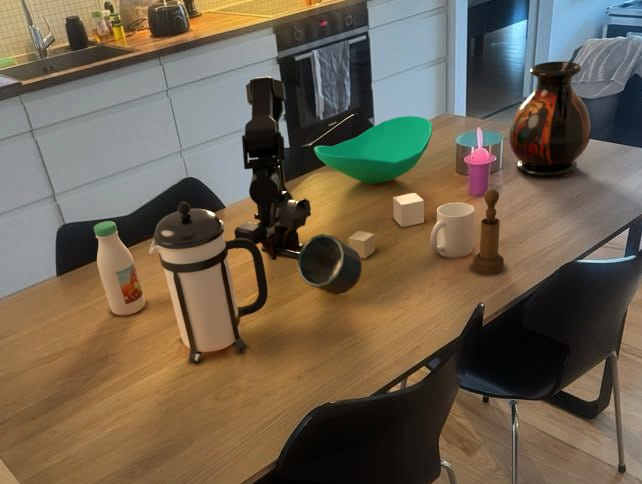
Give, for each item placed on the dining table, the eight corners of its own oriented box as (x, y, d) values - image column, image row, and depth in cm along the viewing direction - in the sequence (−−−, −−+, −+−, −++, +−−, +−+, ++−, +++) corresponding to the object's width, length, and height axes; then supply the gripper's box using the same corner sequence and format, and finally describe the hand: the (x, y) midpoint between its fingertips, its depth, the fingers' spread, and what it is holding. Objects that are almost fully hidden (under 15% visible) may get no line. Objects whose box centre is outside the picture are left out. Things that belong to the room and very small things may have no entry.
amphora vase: (496, 163, 204) (502, 63, 188) (566, 153, 205) (578, 53, 189) (522, 188, 186) (531, 80, 170) (599, 177, 187) (614, 69, 171)
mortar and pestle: (506, 263, 152) (511, 185, 142) (499, 276, 148) (504, 197, 137) (476, 259, 155) (479, 183, 145) (469, 273, 150) (472, 195, 140)
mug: (443, 267, 153) (444, 225, 148) (418, 257, 159) (417, 215, 153) (480, 250, 159) (482, 208, 153) (454, 240, 164) (454, 199, 159)
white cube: (424, 222, 175) (423, 200, 171) (402, 227, 174) (401, 205, 170) (415, 214, 180) (414, 192, 176) (393, 218, 179) (393, 196, 175)
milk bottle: (116, 320, 150) (89, 236, 138) (108, 305, 155) (82, 224, 144) (149, 309, 152) (126, 225, 141) (140, 295, 158) (117, 214, 146)
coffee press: (224, 373, 128) (192, 225, 111) (161, 354, 136) (122, 213, 119) (275, 328, 140) (253, 187, 122) (215, 313, 147) (187, 178, 130)
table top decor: (389, 152, 222) (388, 110, 215) (455, 168, 204) (456, 123, 197) (296, 190, 203) (291, 145, 196) (360, 211, 185) (356, 163, 177)
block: (349, 255, 164) (348, 238, 161) (359, 247, 167) (358, 230, 164) (365, 258, 161) (364, 241, 159) (375, 250, 164) (374, 233, 162)
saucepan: (354, 299, 146) (334, 291, 139) (274, 279, 158) (252, 270, 150) (369, 250, 145) (350, 239, 138) (287, 233, 157) (266, 222, 150)
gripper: (269, 209, 132) (278, 282, 140) (325, 180, 144) (330, 248, 152) (227, 201, 137) (238, 271, 146) (284, 174, 149) (291, 240, 158)
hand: (277, 258), depth 150 cm, fingers closed, pressing on saucepan
